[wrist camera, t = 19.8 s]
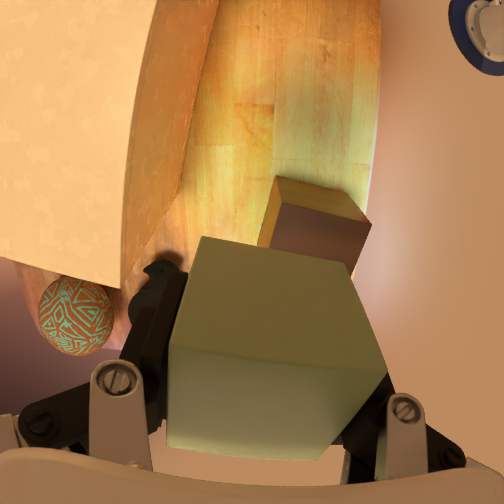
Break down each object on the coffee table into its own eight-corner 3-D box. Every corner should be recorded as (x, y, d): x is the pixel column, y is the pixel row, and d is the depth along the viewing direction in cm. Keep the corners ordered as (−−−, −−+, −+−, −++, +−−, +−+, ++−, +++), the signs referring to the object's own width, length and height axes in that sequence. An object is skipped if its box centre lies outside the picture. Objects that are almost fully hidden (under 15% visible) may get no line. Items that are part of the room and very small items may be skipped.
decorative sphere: (122, 267, 56) (91, 319, 43) (126, 326, 63) (103, 380, 50) (55, 254, 55) (15, 299, 42) (65, 312, 62) (36, 359, 49)
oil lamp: (212, 253, 55) (209, 268, 50) (209, 337, 64) (207, 354, 60) (129, 245, 54) (119, 259, 50) (139, 328, 63) (133, 345, 59)
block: (201, 234, 11) (168, 343, 6) (344, 262, 11) (389, 370, 7) (187, 341, 13) (165, 446, 9) (302, 359, 13) (316, 461, 9)
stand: (275, 175, 48) (281, 202, 38) (347, 193, 49) (372, 224, 39) (256, 243, 54) (257, 285, 43) (324, 257, 55) (340, 300, 45)
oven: (10, 3, 30) (-94, -3, 7) (221, -7, 35) (189, -91, 12) (-8, 163, 45) (-103, 219, 23) (178, 192, 50) (120, 289, 27)
